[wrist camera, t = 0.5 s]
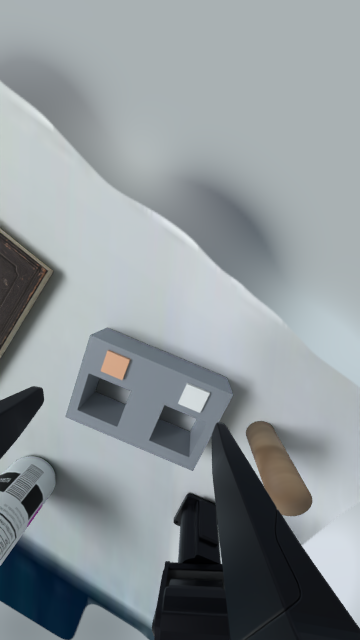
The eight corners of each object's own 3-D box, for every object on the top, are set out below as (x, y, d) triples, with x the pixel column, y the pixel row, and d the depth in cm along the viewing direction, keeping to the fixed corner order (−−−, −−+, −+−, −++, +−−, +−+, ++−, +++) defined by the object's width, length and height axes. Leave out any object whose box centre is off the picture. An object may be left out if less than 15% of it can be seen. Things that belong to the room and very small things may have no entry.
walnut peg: (266, 449, 25) (299, 521, 17) (241, 438, 25) (262, 506, 17) (279, 427, 24) (320, 494, 17) (253, 417, 24) (281, 477, 17)
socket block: (193, 443, 26) (192, 473, 22) (84, 397, 26) (63, 418, 22) (226, 377, 24) (233, 396, 19) (107, 327, 24) (88, 335, 20)
